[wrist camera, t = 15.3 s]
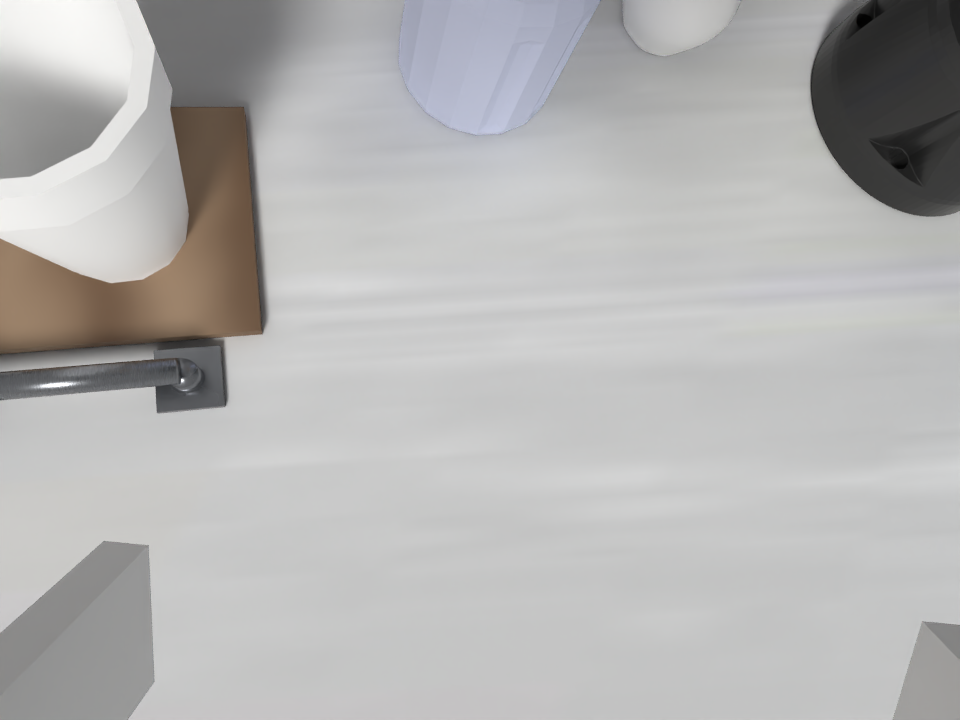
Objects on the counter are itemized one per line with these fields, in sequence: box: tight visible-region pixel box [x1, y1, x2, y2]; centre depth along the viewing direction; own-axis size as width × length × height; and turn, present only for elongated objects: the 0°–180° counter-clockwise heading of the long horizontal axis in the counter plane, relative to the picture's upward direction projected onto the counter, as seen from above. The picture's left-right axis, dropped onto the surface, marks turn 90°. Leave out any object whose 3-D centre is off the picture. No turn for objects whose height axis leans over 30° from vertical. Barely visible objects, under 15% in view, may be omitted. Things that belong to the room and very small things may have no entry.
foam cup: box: [0, 0, 189, 283], centre depth 26 cm, size 10×9×13 cm
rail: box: [0, 345, 225, 413], centre depth 30 cm, size 13×12×3 cm
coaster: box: [0, 107, 262, 354], centre depth 33 cm, size 12×12×1 cm
